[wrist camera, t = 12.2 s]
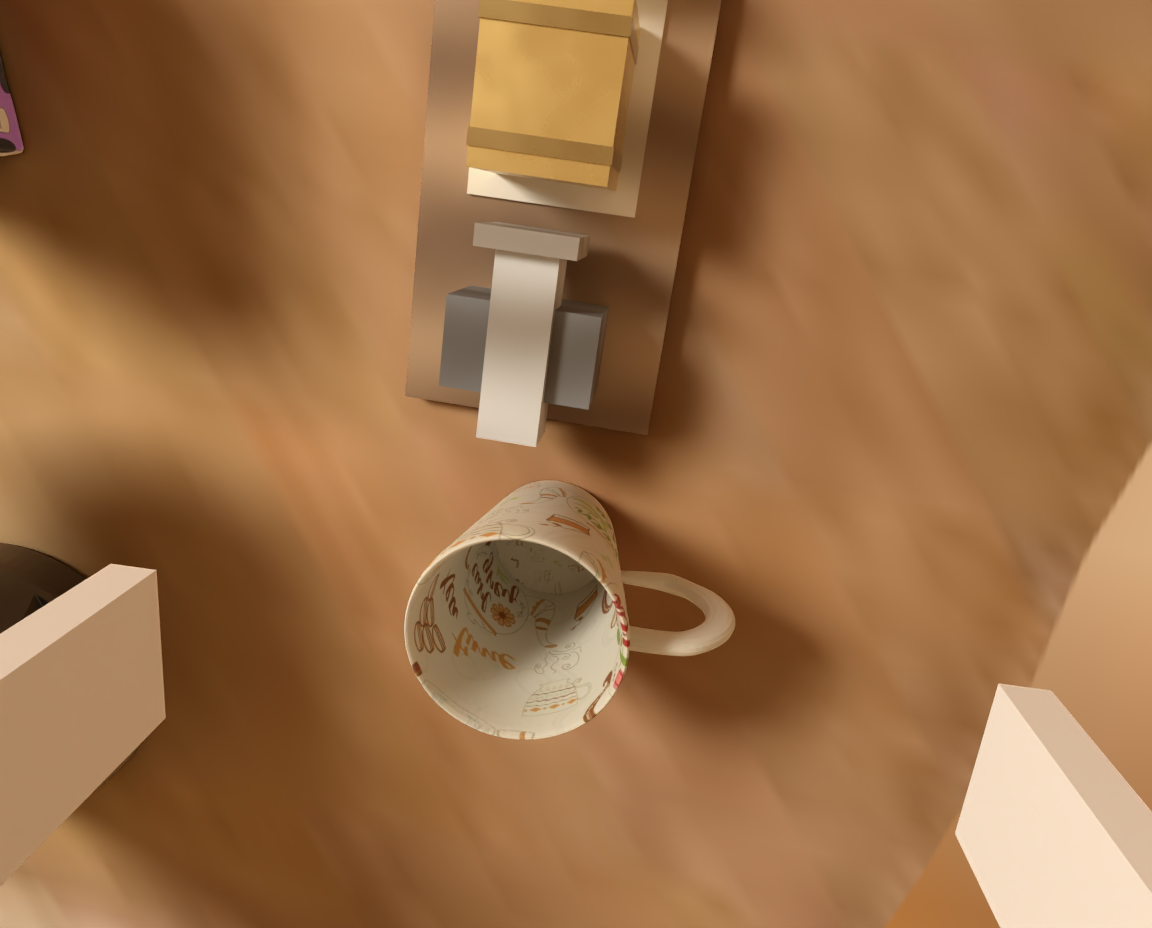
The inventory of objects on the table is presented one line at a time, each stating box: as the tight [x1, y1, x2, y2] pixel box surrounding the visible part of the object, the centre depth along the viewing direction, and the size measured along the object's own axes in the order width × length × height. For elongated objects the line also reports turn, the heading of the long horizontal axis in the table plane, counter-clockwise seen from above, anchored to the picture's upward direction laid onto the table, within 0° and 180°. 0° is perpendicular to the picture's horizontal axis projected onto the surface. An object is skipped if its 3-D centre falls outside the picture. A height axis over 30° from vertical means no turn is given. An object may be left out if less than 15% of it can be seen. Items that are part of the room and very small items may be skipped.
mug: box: [404, 480, 735, 740], centre depth 34 cm, size 8×13×10 cm, turn 84°
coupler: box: [466, 0, 640, 191], centre depth 30 cm, size 6×5×5 cm
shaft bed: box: [406, 0, 722, 447], centre depth 30 cm, size 26×11×6 cm, turn 172°
